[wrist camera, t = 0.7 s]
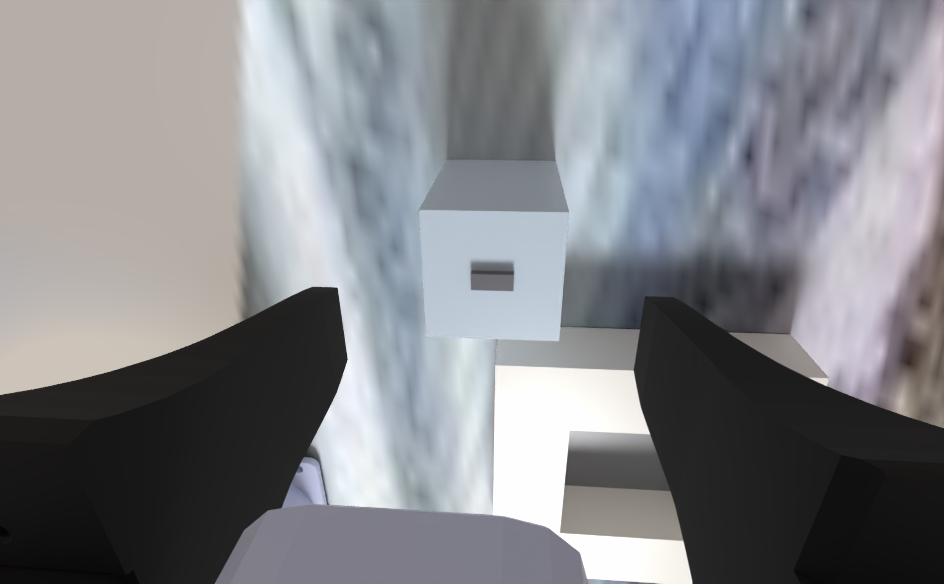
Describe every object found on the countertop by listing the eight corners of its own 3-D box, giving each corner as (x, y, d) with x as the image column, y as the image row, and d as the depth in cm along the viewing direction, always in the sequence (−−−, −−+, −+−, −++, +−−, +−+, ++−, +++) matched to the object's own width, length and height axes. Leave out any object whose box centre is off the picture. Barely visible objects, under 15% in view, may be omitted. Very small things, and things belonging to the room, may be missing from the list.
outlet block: (495, 519, 28) (492, 571, 25) (498, 324, 22) (495, 365, 20) (728, 533, 27) (751, 589, 24) (790, 334, 21) (829, 378, 19)
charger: (449, 258, 21) (424, 341, 16) (446, 159, 19) (417, 212, 14) (548, 261, 21) (559, 345, 15) (555, 160, 19) (569, 215, 14)
